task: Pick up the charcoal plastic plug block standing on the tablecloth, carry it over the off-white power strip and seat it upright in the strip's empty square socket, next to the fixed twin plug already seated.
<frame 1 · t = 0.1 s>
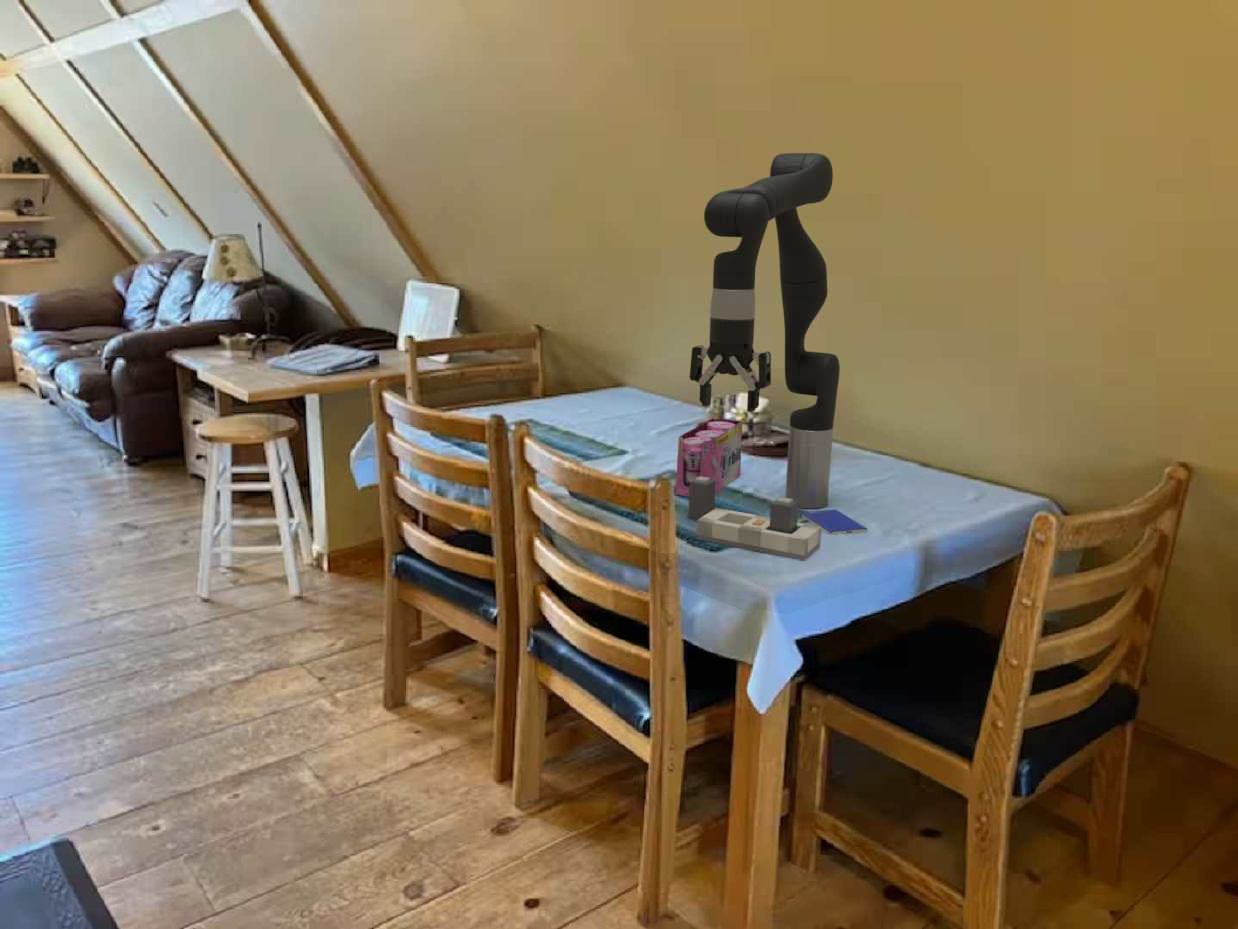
hand: (728, 408, 173), 29 cm above the table, fingers open, 8 cm apart
plug: (701, 518, 207), on the table
hard drive: (833, 527, 204), on the table
gum box: (708, 486, 231), on the table
twin plug: (782, 542, 190), resting on strip
strip: (757, 542, 193), on the table
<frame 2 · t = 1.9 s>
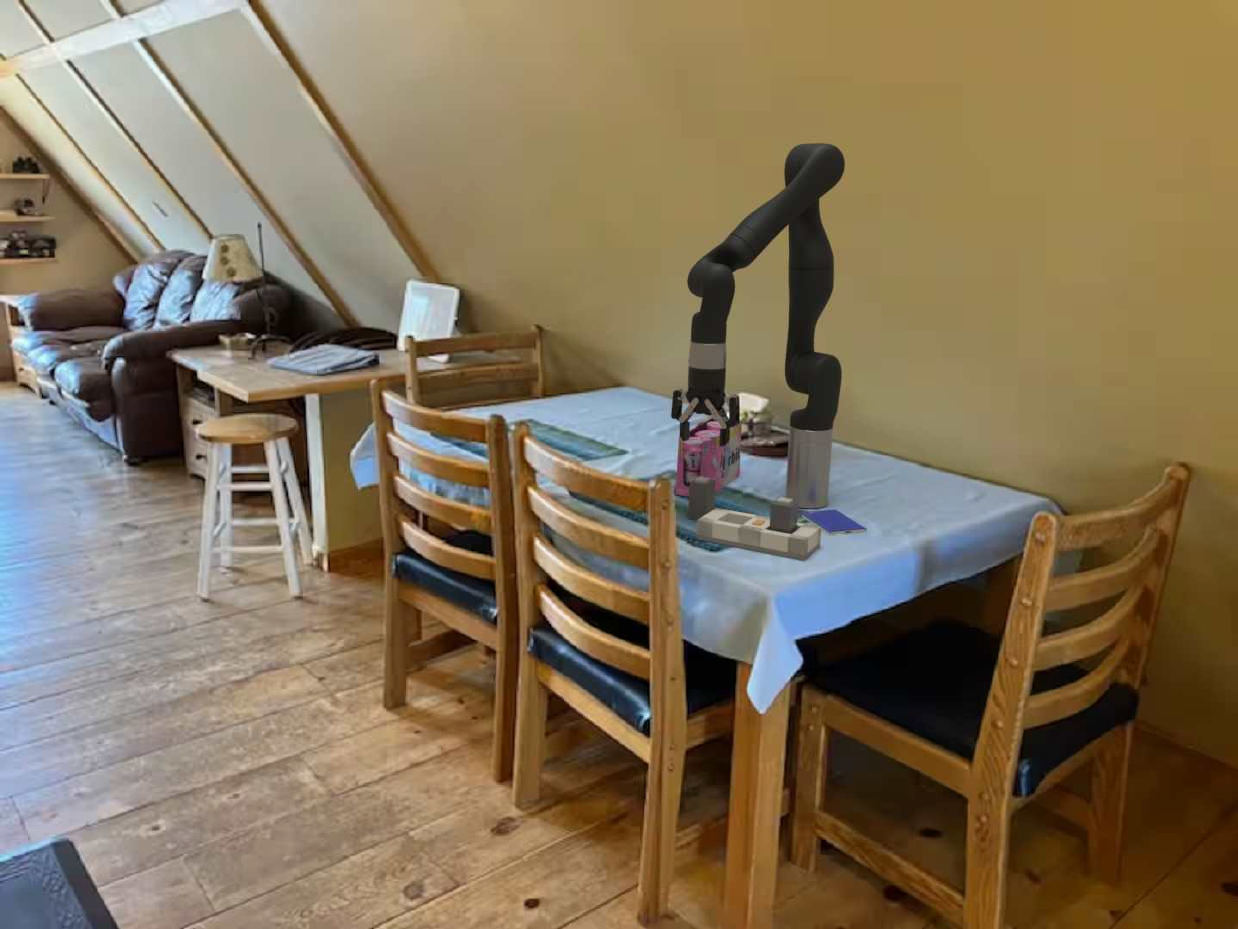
hand: (703, 443, 203), 16 cm above the table, fingers open, 8 cm apart
nothing on the table moved.
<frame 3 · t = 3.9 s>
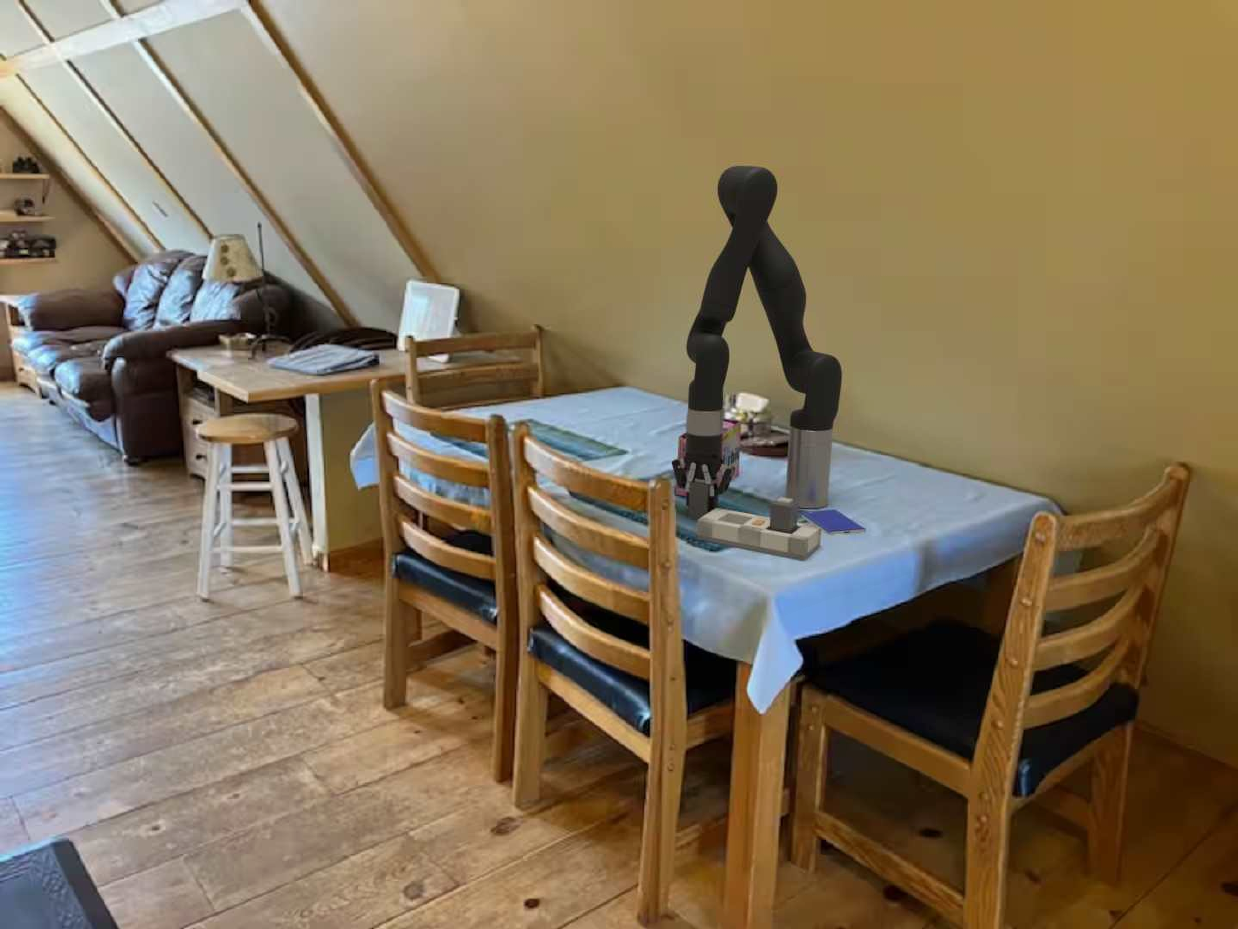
hand: (701, 509, 207), 2 cm above the table, fingers closed on plug, 4 cm apart
plug: (701, 517, 207), on the table, touching gripper
everything else where it was.
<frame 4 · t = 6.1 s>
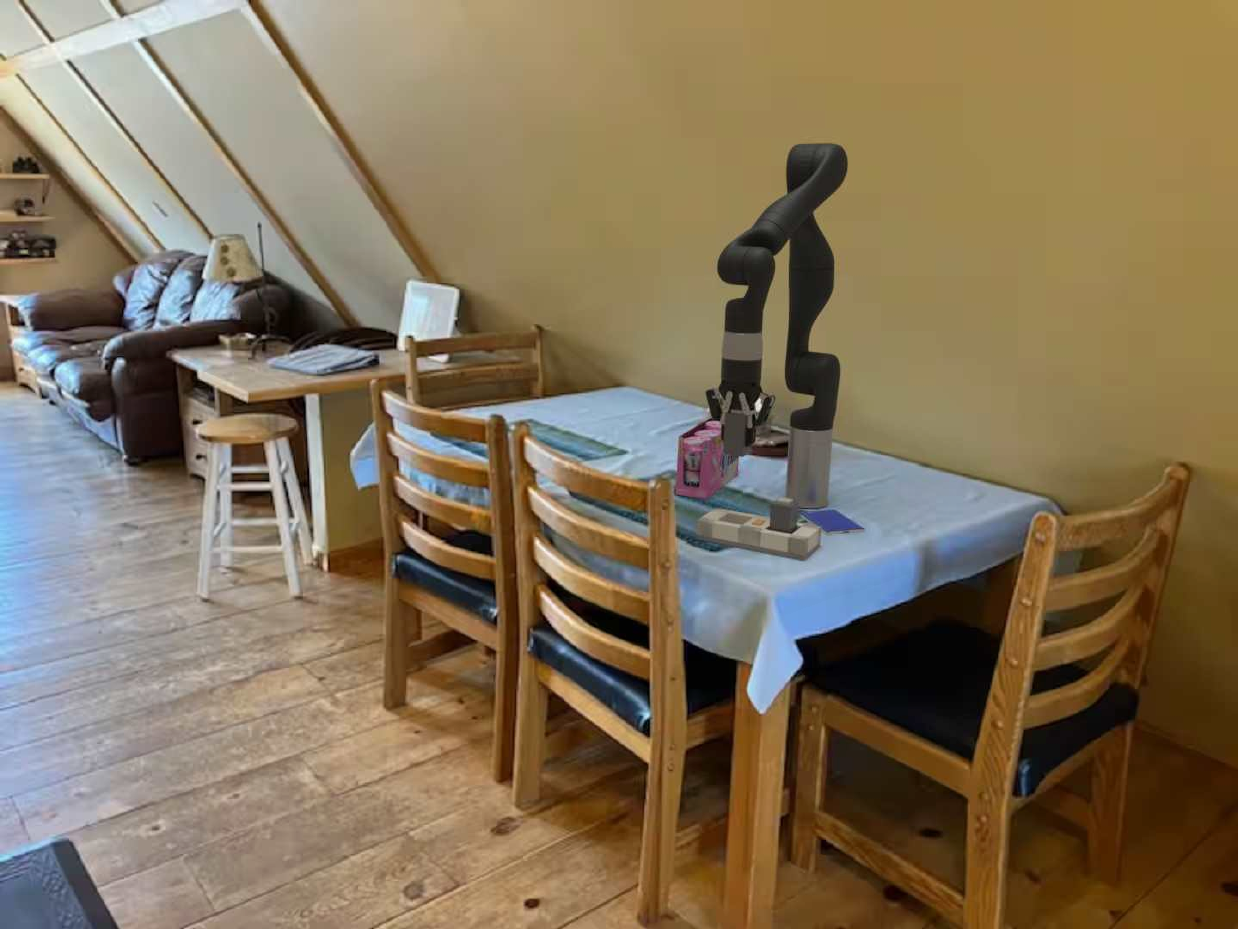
hand: (737, 444, 190), 19 cm above the table, fingers closed on plug, 4 cm apart
plug: (737, 453, 191), point 17 cm above the table, touching gripper
everything else where it was.
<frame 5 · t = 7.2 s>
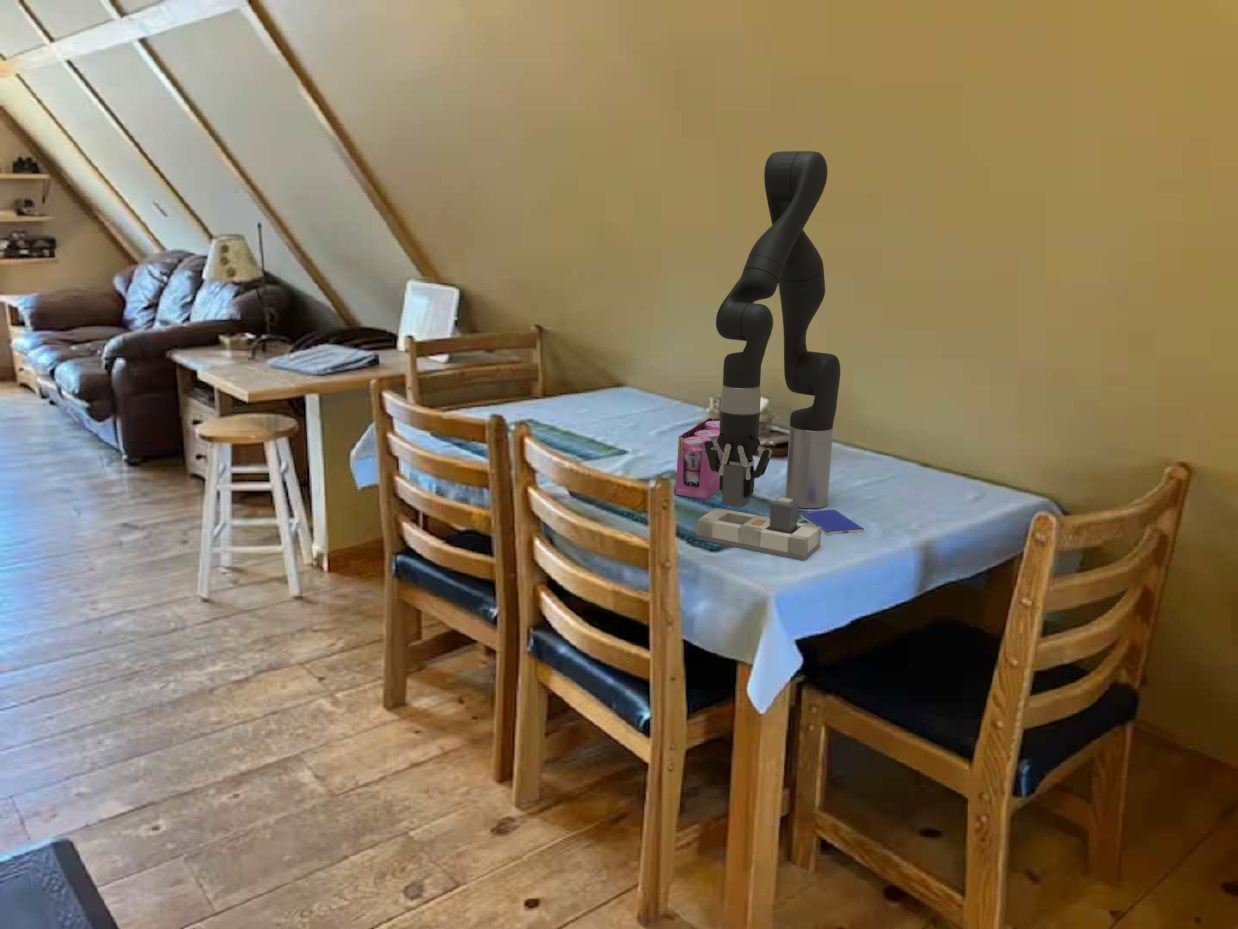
hand: (736, 494, 193), 9 cm above the table, fingers closed on plug, 4 cm apart
plug: (735, 503, 193), point 7 cm above the table, touching gripper
everything else where it was.
when the fingers open (5 cm above the table, at t = 8.3 s): plug drops 2 cm, resting on strip.
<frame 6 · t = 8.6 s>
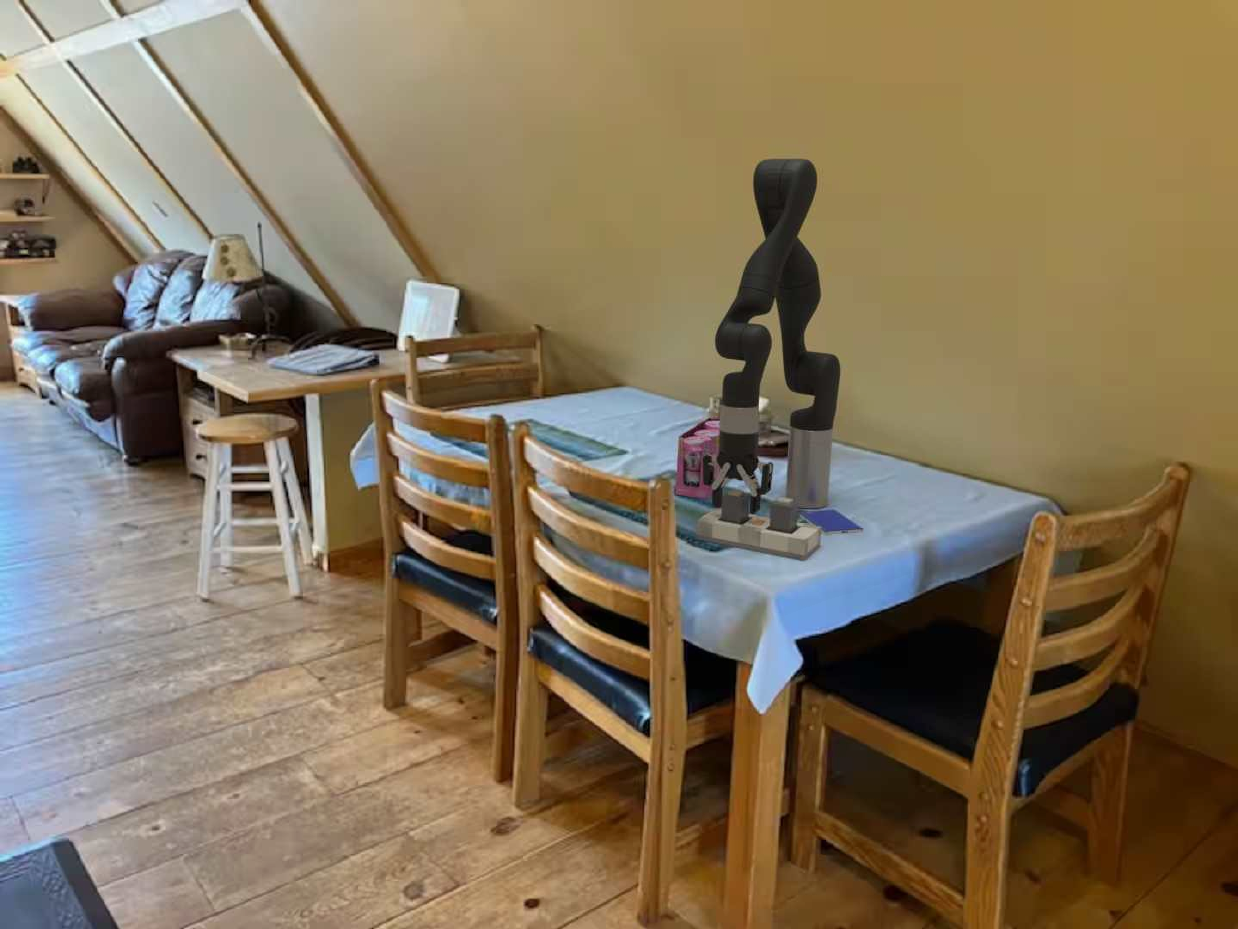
hand: (735, 510, 194), 6 cm above the table, fingers open, 7 cm apart
plug: (734, 533, 195), point 1 cm above the table, touching strip
everything else where it was.
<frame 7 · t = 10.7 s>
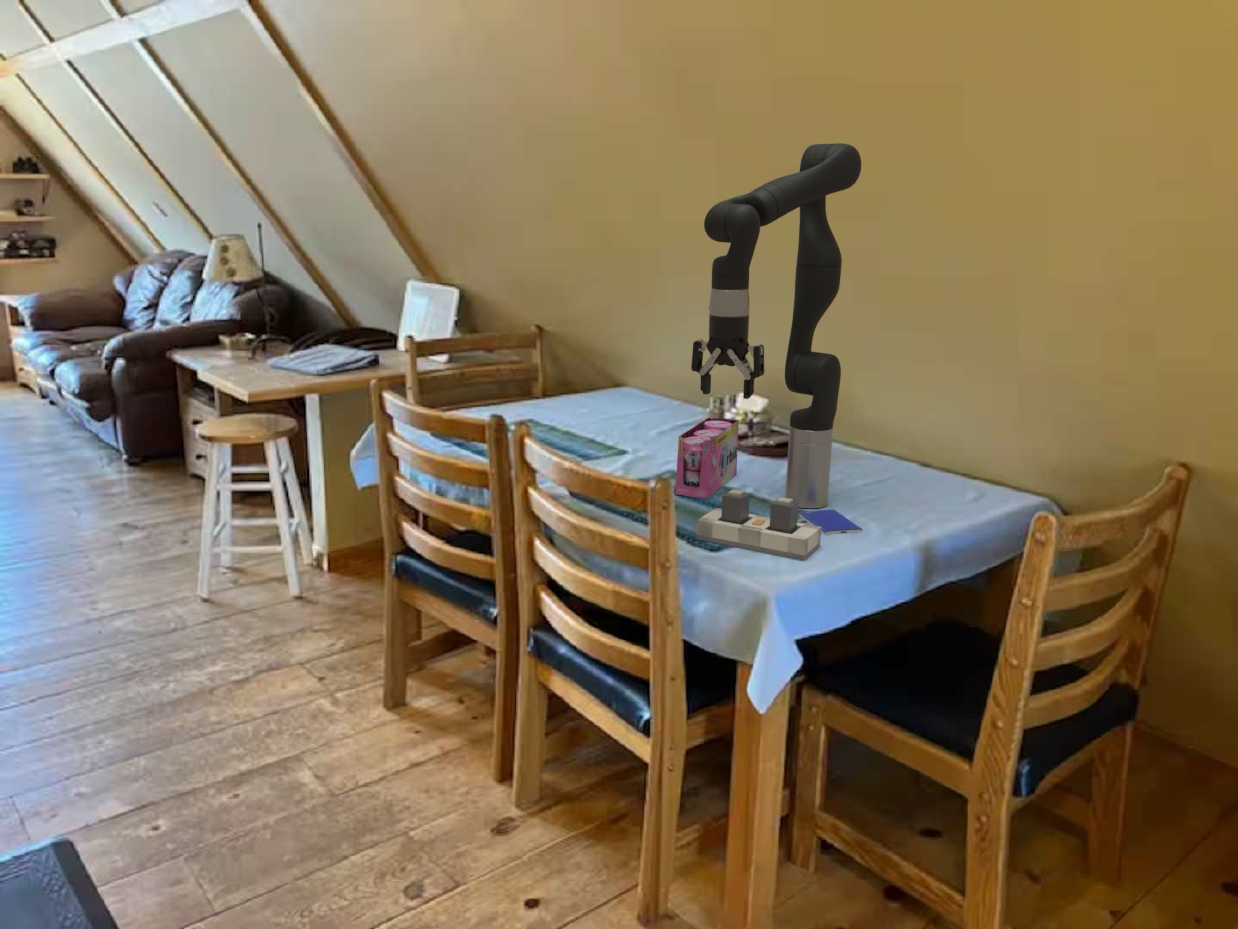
hand: (726, 395, 193), 27 cm above the table, fingers open, 8 cm apart
nothing on the table moved.
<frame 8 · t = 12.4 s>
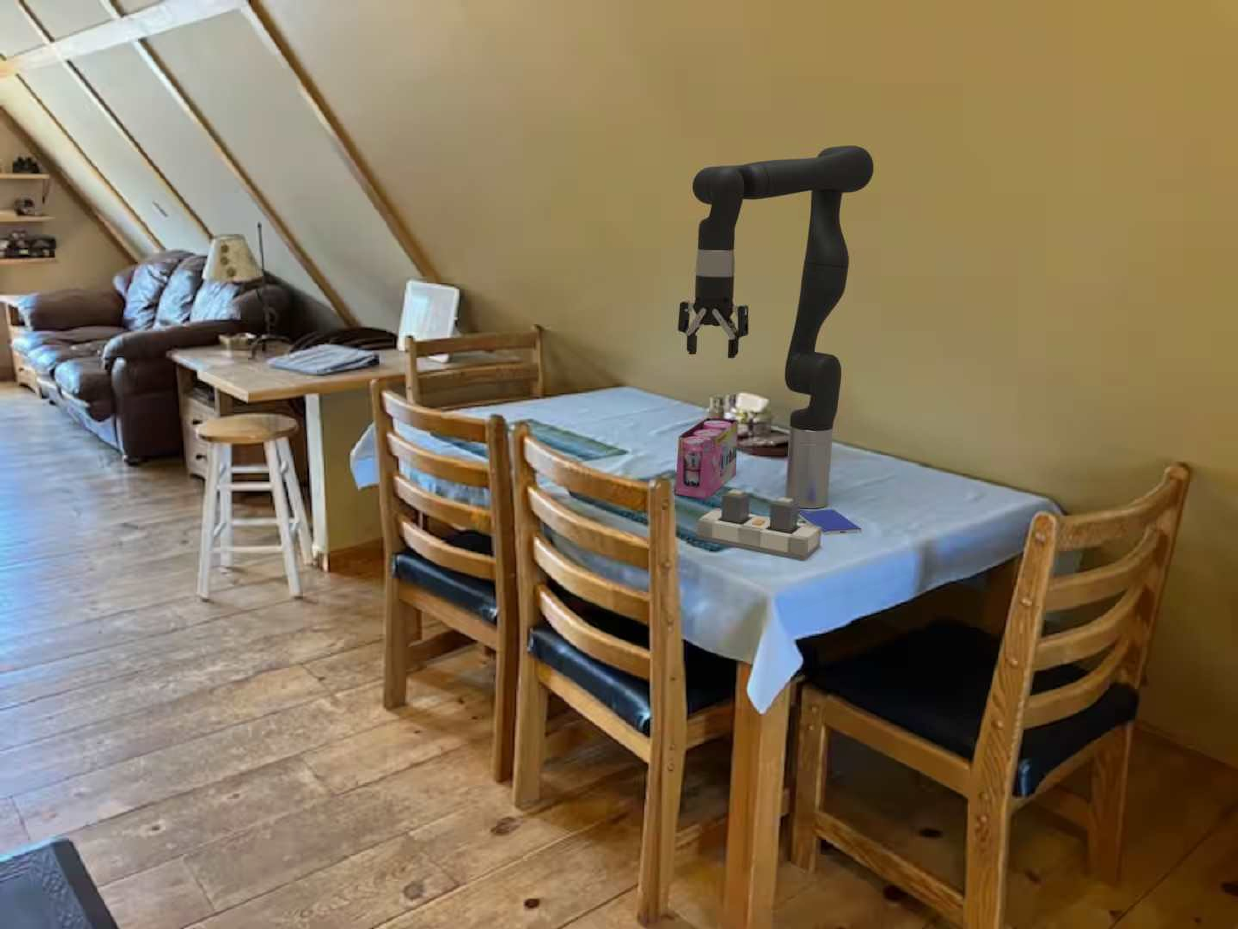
hand: (711, 355, 198), 34 cm above the table, fingers open, 8 cm apart
nothing on the table moved.
at the end: plug 0.1 cm from the target spot on the strip, point 1.0 cm above the strip's base; plug tilted 0°; the gripper is holding nothing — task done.
